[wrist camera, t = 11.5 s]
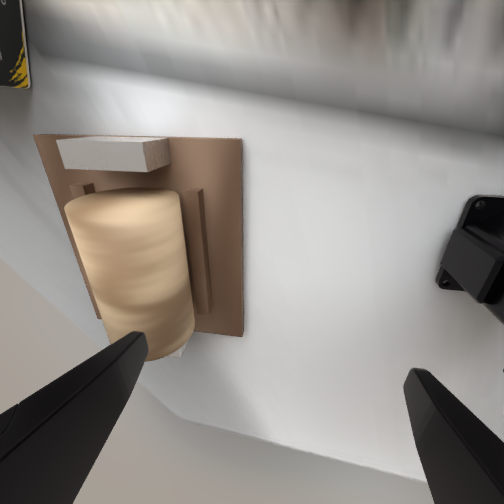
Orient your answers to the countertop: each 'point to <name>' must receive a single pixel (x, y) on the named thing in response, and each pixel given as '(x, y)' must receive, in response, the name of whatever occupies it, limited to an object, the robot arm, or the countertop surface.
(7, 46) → the medicine bottle
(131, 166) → the holder stand
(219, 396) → the countertop surface
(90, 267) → the paper roll
